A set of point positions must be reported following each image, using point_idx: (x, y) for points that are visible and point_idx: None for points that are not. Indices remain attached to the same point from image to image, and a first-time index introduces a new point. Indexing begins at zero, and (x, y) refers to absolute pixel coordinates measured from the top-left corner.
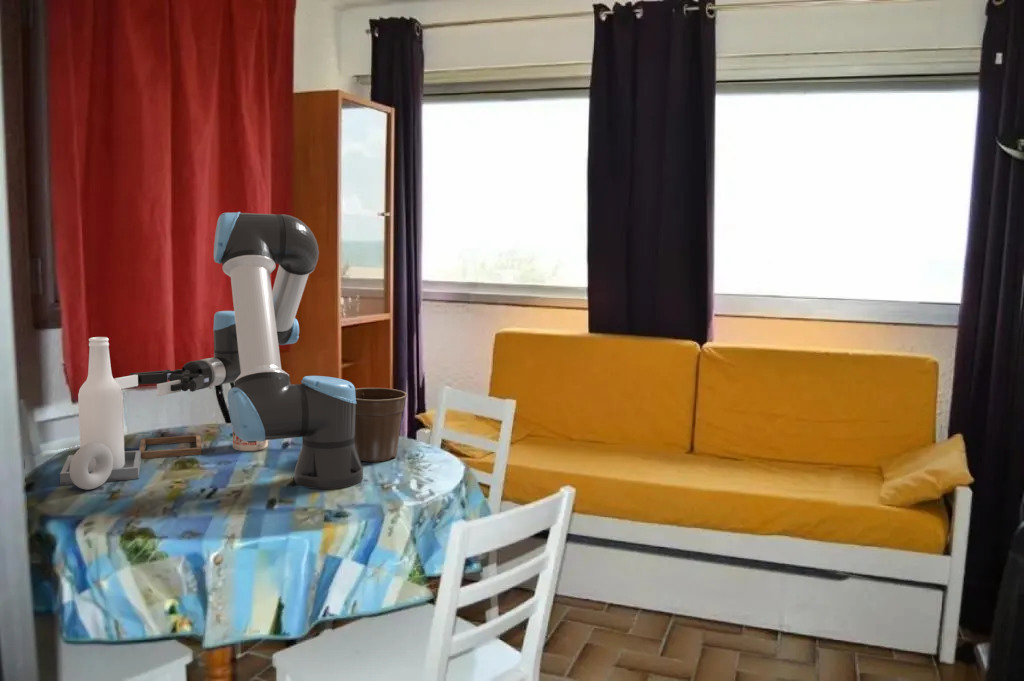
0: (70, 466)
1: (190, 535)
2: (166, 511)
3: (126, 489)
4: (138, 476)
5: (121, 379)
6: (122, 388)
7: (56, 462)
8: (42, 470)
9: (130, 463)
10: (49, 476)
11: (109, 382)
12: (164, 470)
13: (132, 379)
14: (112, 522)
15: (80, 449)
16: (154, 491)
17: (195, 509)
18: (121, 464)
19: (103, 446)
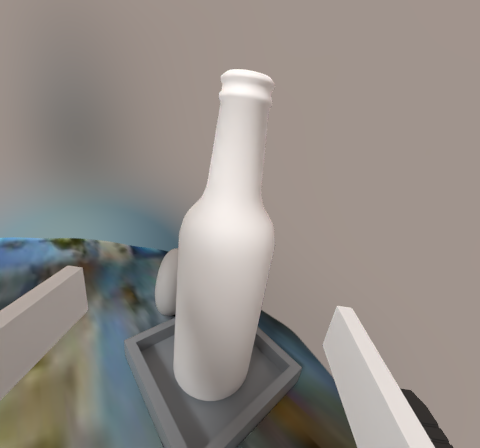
0: None
1: (14, 243)
2: (46, 273)
3: (124, 313)
4: (128, 362)
5: (347, 339)
6: (334, 379)
7: (338, 393)
8: (304, 347)
9: (184, 424)
10: (267, 329)
11: (199, 199)
12: (80, 428)
13: (387, 441)
14: (102, 253)
15: None
16: None
17: (3, 281)
18: (173, 361)
19: (161, 264)
